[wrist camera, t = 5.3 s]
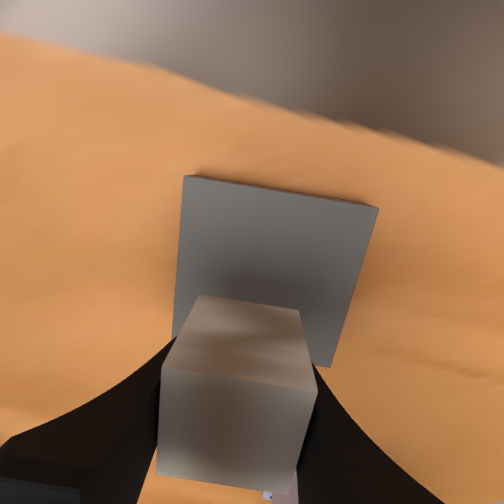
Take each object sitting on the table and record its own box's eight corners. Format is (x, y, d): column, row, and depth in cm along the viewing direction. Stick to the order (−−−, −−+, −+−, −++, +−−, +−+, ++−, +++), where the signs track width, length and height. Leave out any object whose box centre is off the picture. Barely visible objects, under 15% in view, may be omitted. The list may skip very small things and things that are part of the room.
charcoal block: (361, 202, 19) (379, 208, 16) (321, 342, 22) (329, 367, 19) (196, 174, 19) (183, 175, 16) (183, 319, 22) (171, 341, 19)
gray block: (298, 309, 13) (318, 391, 8) (280, 388, 14) (287, 495, 10) (199, 294, 13) (161, 366, 8) (191, 374, 14) (155, 474, 10)
